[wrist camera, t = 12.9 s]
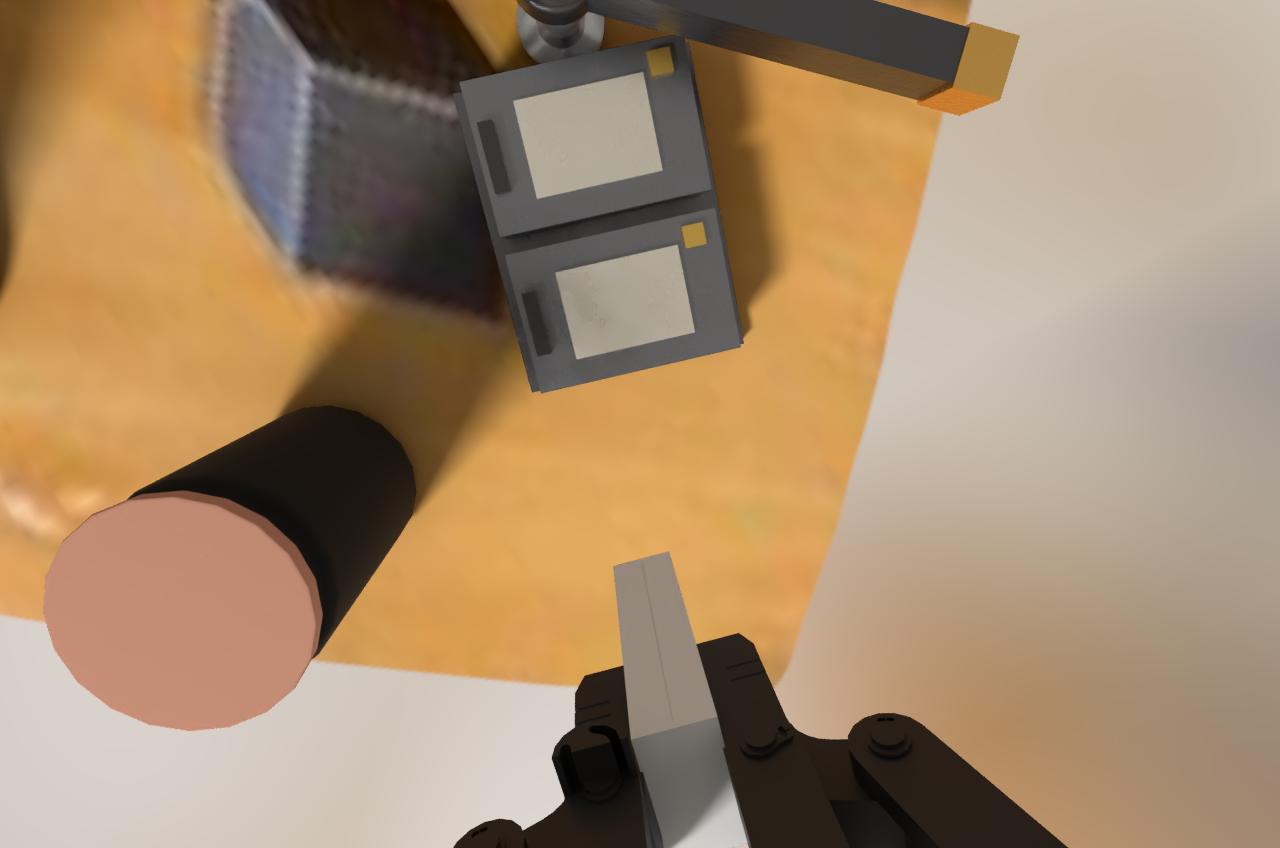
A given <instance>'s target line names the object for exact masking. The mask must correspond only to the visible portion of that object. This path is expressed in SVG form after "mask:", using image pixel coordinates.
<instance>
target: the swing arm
mask: <svg viewBox="0 0 1280 848" xmlns="http://www.w3.org/2000/svg"><path fill="white" fill-rule="evenodd" d="M517 2H518V4H519V5H520V6H521V8H522V9H523V10H524V11H525V12H526V13H527V14H528V15H529V16H531V17H532V18H534V19H535V20H537V21H539V22H541V23H544V24H548V25H555V26H560V25H567V24H570V23H573V22H575V21H577V20H579V19H580V18H582V17H583V16H584V15H586V13H587V12H590V13H594V14H598V15H601V16H605V17H609V18H613V19H616V20H620V21H624V22H628V23H631V24H635V25H639V26H643V27H646V28H650V29H654V30H658V31H661V32H665V33H669V34H672V35H676V36H680V37H684V38H687V39H691V40H695V41H699V42H702V43H706V44H710V45H714V46H717V47H721V48H725V49H728V50H732V51H736V52H740V53H743V54H747V55H751V56H755V57H758V58H762V59H766V60H770V61H773V62H777V63H781V64H784V65H788V66H792V67H796V68H799V69H803V70H807V71H811V72H814V73H818V74H822V75H826V76H829V77H833V78H837V79H840V80H844V81H848V82H852V83H855V84H859V85H863V86H867V87H870V88H874V89H878V90H882V91H885V92H889V93H893V94H897V95H900V96H904V97H908V98H911V99H915V100H918V101H917V105H921V106H925V107H929V108H932V109H936V110H940V111H944V112H947V113H951V114H955V115H959V116H960V115H962V114H965V113H968V112H970V111H973V110H975V109H978V108H980V107H983V106H986V105H988V104H991V103H994V102H996V101H999V100H1000V98H1001V95H1002V92H1003V88H1004V85H1005V82H1006V78H1007V75H1008V72H1009V69H1010V66H1011V62H1012V59H1013V56H1014V53H1015V49H1016V46H1017V43H1018V40H1019V37H1020V36H1019V35H1015V34H1011V33H1008V32H1004V31H1001V30H997V29H994V28H991V27H987V26H984V25H980V24H976V23H973V22H971V23H970V24H968V25H966V26H962V25H959V24H955V23H952V22H948V21H945V20H941V19H937V18H934V17H930V16H927V15H923V14H920V13H916V12H913V11H909V10H906V9H902V8H899V7H895V6H892V5H888V4H885V3H881V2H878V1H874V0H517Z"/></svg>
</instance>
